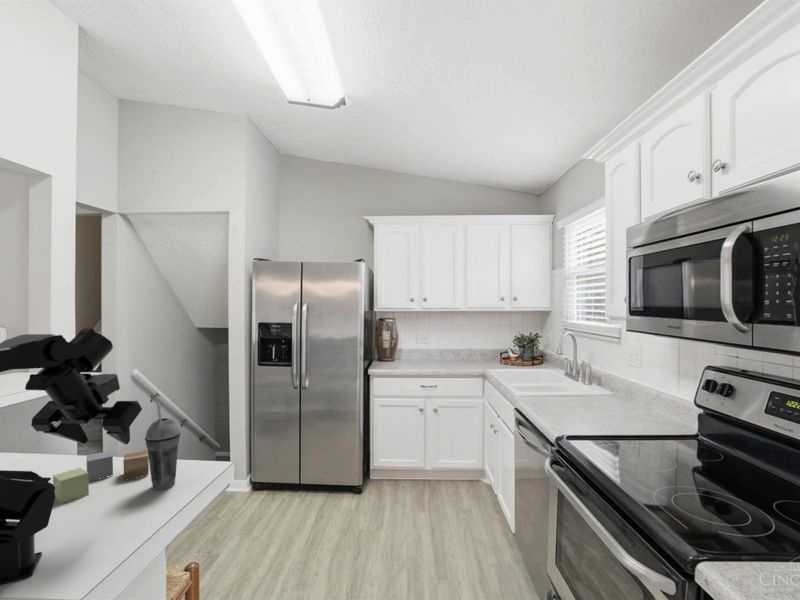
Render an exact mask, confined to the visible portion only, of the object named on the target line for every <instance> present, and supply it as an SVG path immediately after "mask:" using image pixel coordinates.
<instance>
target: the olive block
mask: <svg viewBox="0 0 800 600" xmlns="http://www.w3.org/2000/svg"><path fill="white" fill-rule="evenodd" d="M52 484H53V485H54V486H55V490H54V491H55V501H57V502H58V503H59V504H60V503H62V504H65V503H67V501H68V502H71V501H74V500H77V499H80V498H83V497H86V496H89V495H90V491H89V490H90V489H89V488H90V486H89V484H90V482H89V481H88V472H87V470H85V469H84V468H82V467H79V468H75V469H70V470H67V471H64V472H60V473H57V474H54V475H53V474H52ZM73 499H74V500H73ZM70 500H71V501H70ZM64 502H65V503H64Z"/></svg>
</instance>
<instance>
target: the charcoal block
mask: <svg viewBox="0 0 800 600" xmlns="http://www.w3.org/2000/svg"><path fill="white" fill-rule="evenodd" d="M113 462H114V458H113V453H112V450H107V451H102V452H97V453H92V454H88V455H86V472H88V481H90V482H93V480H94V481H97V480H96V479H98V480H100V479H99V478H103V477H107V476H111V475H113V476H114V468H113V467H114V463H113ZM111 477H112V476H111ZM107 478H108V477H107ZM103 479H104V478H103Z"/></svg>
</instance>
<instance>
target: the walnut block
mask: <svg viewBox="0 0 800 600" xmlns="http://www.w3.org/2000/svg"><path fill="white" fill-rule="evenodd" d="M122 461H123V463H122V464H123V481H127V480H126V479H129V480H132V479H131V478H134V479H137V478H136V477H139V478H142V477H141V476H145V477H147V476H146V475H148V476H149V472H150V464H149V455H148V449H146V450H140V451H139V450H137V451H133V452H126V453H125V454H124V457H123V460H122Z"/></svg>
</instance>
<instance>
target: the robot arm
mask: <svg viewBox="0 0 800 600" xmlns="http://www.w3.org/2000/svg"><path fill="white" fill-rule="evenodd" d="M113 348H114V347H113V342H112V341H111V340H110V339H108V338H107V337H106V336H104V335H102V334H101V333H98V332H96V331H95V330H94V328H93V327H92V328H89V327H88V328H82V329H81V330H80V331H79V332H78V333H77V335H76V336H74V337H73V338H72V339H71V340H70V341H67V340H66V338H64V336H63V334H59V333H50V334H49V333H39V334H36V333H34V334H32V333H31V334H28V333H27V334H20V335H17V336H14V337H12V338H8V339H6V340H3V341H1V342H0V373H2V372H7V371H12V370H27V369H28V370H31V369H32V370H33V369H40V370H39V371H38V372H37V373H35V374H34V373H33V374H32V373H31V374H30V375H29V379H28V381H27V382H26V384H25V387H24V389H25V390H26V391H44V392H45V393H46V394H47V395H48V397H49V398H50V400H48V402H47V403H45V405H44V406H42V408H40V410H39V411H37V413H36V414H35V415H34V416H32V418H31V422H30V423H31V424H30V425H31V427H32V428H33V429H34V430H35V431H36V432H43V434H49V435H52V436H56V437H59V438H64V439H66V440H70V441H73V442H75V443H79V444H82V445H86V444H87V442H88V441H89V438H88V436H87V434H86V432H85V430H84V429H83V427H82V425H83V424H86V425H87V424H88V423H89V422H90V420H102V424H101V428H103V429H104V431H107V432H105V434H107V435H109V436H110V437H111V438H114V439H115V440H117V441H118V442H120V443H121V444H123V445H128V444H129V443H130V441H131V432H130V431H131V429H130V427H131V425H132V424H133V423H134V421H135V420H136V418H137V417H138V415H139V414H140V413H141V412H142V410H143V408H142V406H141V404H140V403H139V401H138V400H117V401H116V402H115V403H114V404H113V405H112V406H107V407H106V406H103V405H105V404H107V402H109V400H110V399H109V397H108V396H110V395H112V394H113V393H114V392H117V391H119V390H120V389H121V387H120V382H119V378H118V377H119V376H118V374H116V373H100V374H93V375H92V374H91V373H89V372H92V371H94V370H95V368H96V367H97V366H98V365H99V364H100V363H102V361H103V360H104V359H105V358H106V357H107V356H108V355H109V354H110V353H111V352H112V350H113ZM82 372H83V373H82ZM84 372H86V373H84ZM51 480H52V478H51V477H43V476H41V475H39V474H38V473H37V472H34V471H32V470H6V469H5V470H0V585H1V584H6V583H9V582H14V581H18V580H21V579H25V578H28V577H31V576H33V575H34V572H35V570H36V568H37V567H38V564H39V562H40V561H41V558H42V557H43V552H41V551H40V552H39V551H38V552H35V551H36V549H35V545H36V544H35V543H36V542H35V535H36V534H37V533H39V532H40V531H43V530H44V529H47V527H48V525H49V522H50V518H51V515H52V511H53V508H54V503H55V501H56V499H55V491H54V490H55V486H54V485H53V482H50V481H51Z"/></svg>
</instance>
